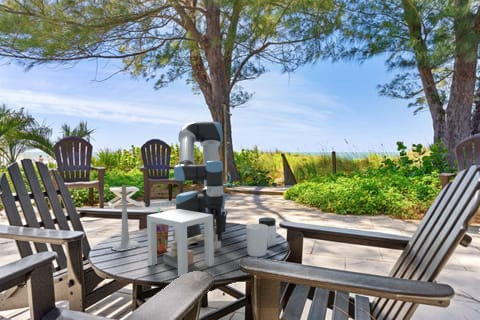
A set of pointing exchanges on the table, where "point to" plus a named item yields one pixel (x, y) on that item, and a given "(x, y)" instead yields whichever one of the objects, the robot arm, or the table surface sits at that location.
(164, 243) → the smoothie
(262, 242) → the candle holder
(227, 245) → the table surface
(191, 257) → the block
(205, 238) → the stool
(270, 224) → the jar
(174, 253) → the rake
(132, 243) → the candlestick
